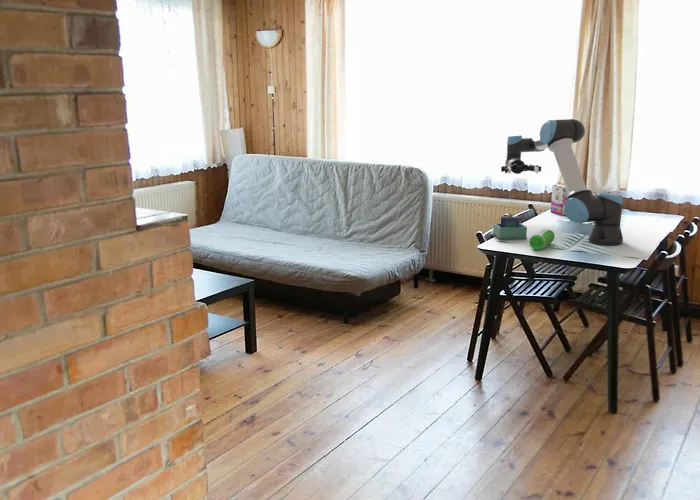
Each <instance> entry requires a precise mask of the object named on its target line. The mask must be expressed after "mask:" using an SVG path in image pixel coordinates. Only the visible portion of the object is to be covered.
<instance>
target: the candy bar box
mask: <svg viewBox="0 0 700 500" xmlns="http://www.w3.org/2000/svg"><path fill="white" fill-rule="evenodd" d="M567 196H568V192H567V190H566V187H565V184H564V185H563V184H559V183H558V184H552V189H551V199H550V200H551V201H550V202H551V203H550V205H551V206H550V213H552V214H555V215H559V216H566V214H565V210H564V208H565V206H564V205H565V202H566V201H567V200H566V198H567Z"/></svg>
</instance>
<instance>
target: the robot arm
mask: <svg viewBox="0 0 700 500" xmlns="http://www.w3.org/2000/svg"><path fill="white" fill-rule="evenodd" d="M585 133H586V127H585V126H584V124H583V122H582V121H580V120H578V119H574V118H570V119H568V118H567V119H555V118H553V119H547V120H546V121H544V122H542V125H541V127H540V131H539V135H538V136H536V137H523V136H522V134H510V135H508V136H507V144H506V145H507V146H506V148H507V149H506V160H505V163H504V164H505V165H502V166H501V168H500V172H504V173H505V174H510V175H511V174H512V173H513V174H516V175H519V174H522V173H523V172H534V173H535V174H539V172H540V173H541V172H542V166H541V165H540V166H539V164H537V165H533V164H526V163H524V161H523V160H522V157H521V156H522V153H532V152H536V153H537V152H538V153H539V152H544V151H545V150H546V149H549V151H550V152H552V153H553V155H554V158H555V160H556V163H557V166H558V169H559V172H560V174H561V178H562V180H563V183H564V186H565V187H566V190H567V192H568V196H567V198H566V200H567V201H566V202H565V205H564V206H565V208H564V210H565V214H566V215H565V217H566V218H567V219H568V221H570V222H571V223H576V224H577V223H579V224H583V223H584V224H585V223H592V222H593V226H592V228H591V231H590V233H589V236H588V241H589V243H592V244H596V245H602V246H619V245H622V244H623V242H624V237H623V233H622V229H621V221H622V220H621V218H622V213H623V212H622V211H623V210H622V209H623V197H622V196H621V195H619V194H614V193H610V192H609V193H608V192H596V194H595V196H594V195H593V193H592V190H591V189H588V187H587V186H586V183H585V180H584V178H583V175H582V172H581V169H580V166H579V164H578V161H577V158H576V156H575V152H574V150H573V147H572V146H573V144H575V143H578V142H580V141H581V140H582V139H583V138H584V137H585V135H586V134H585Z"/></svg>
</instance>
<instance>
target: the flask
mask: <svg viewBox="0 0 700 500" xmlns="http://www.w3.org/2000/svg"><path fill="white" fill-rule="evenodd" d="M520 220H521V217H520V216H513V213H511V212H510V213H509V215H504V216H501V217H500V223H501V228H505V227H519V225H520V223H521V221H520Z"/></svg>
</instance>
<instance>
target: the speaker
mask: <svg viewBox="0 0 700 500" xmlns="http://www.w3.org/2000/svg"><path fill="white" fill-rule="evenodd" d="M554 240H555V232H554V231H553V230H552V229H550V228H543V229H541V230H539V231H538V232H536V233H534V234H533V235H531V236H530V239H529V246H530V248H532V249H533V250H536V251H538V250H539V251H540V250H543V249H545V248H547V246H549V245H550V244H551V243H553V242H554Z"/></svg>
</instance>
